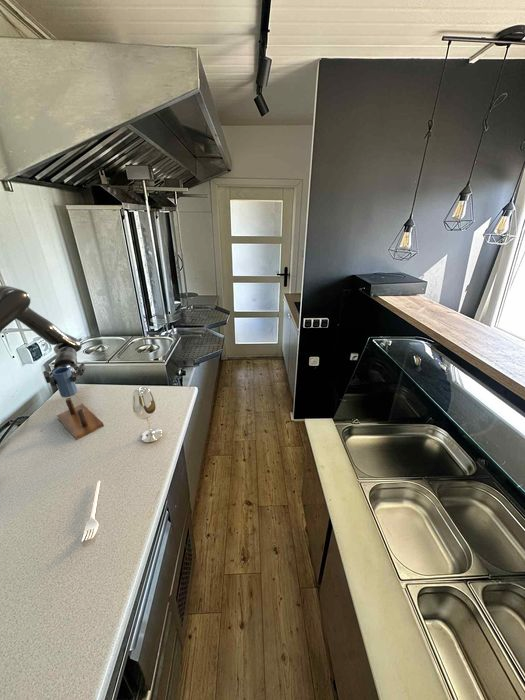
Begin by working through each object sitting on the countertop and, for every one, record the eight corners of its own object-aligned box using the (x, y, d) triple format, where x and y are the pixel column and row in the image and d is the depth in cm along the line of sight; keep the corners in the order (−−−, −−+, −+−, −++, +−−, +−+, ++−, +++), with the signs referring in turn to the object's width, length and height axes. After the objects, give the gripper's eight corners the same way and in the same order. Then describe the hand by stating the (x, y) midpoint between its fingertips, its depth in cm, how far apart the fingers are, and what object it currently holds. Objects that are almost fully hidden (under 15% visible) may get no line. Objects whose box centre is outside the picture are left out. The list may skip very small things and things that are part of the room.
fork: (105, 480, 90) (103, 476, 90) (95, 542, 73) (93, 537, 73) (93, 483, 89) (92, 479, 89) (81, 546, 72) (79, 542, 72)
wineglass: (137, 435, 108) (125, 391, 100) (157, 425, 113) (147, 382, 104) (145, 446, 103) (133, 401, 94) (166, 435, 108) (156, 391, 99)
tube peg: (70, 397, 106) (62, 374, 101) (57, 397, 106) (48, 373, 102) (80, 389, 111) (73, 367, 106) (68, 388, 111) (59, 366, 107)
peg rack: (76, 439, 107) (69, 422, 103) (57, 418, 118) (50, 401, 115) (103, 425, 114) (98, 408, 110) (83, 406, 125) (77, 390, 121)
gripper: (41, 358, 112) (35, 378, 99) (83, 350, 118) (83, 368, 105) (48, 375, 115) (43, 396, 102) (88, 366, 122) (89, 385, 108)
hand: (63, 381), depth 104 cm, fingers closed on tube peg, 5 cm apart
